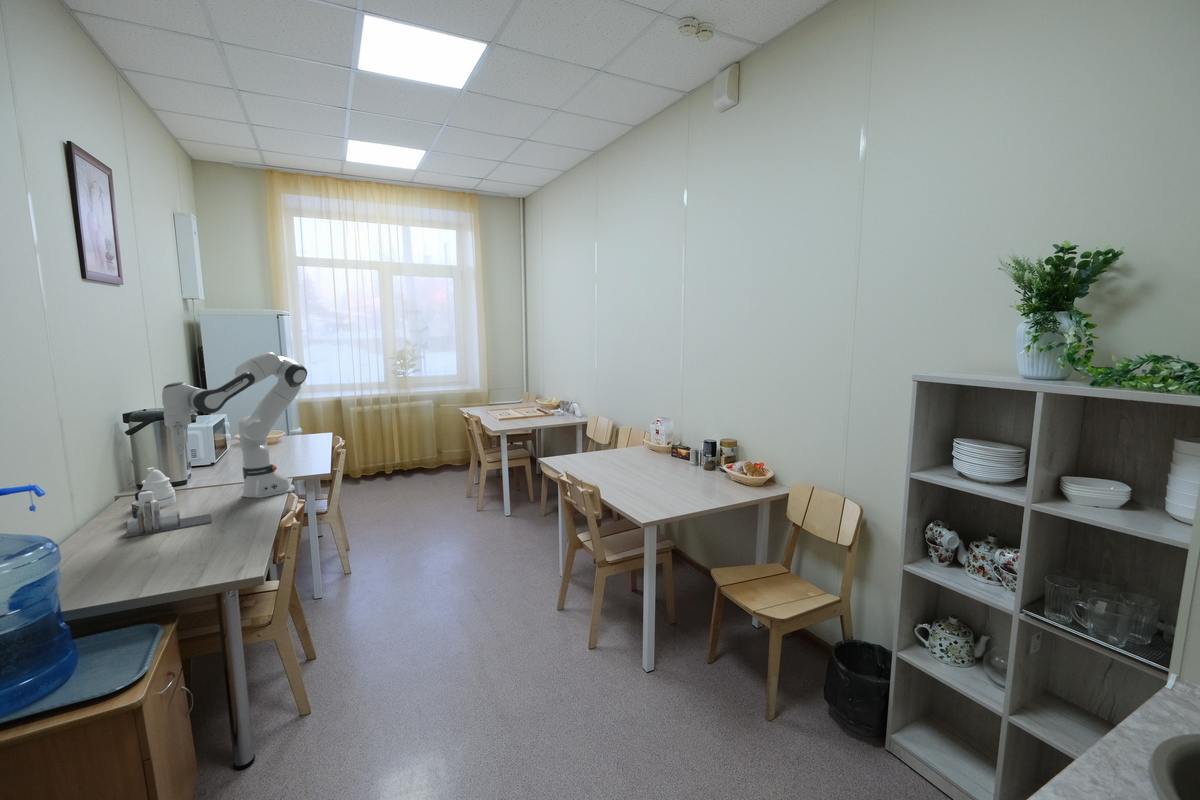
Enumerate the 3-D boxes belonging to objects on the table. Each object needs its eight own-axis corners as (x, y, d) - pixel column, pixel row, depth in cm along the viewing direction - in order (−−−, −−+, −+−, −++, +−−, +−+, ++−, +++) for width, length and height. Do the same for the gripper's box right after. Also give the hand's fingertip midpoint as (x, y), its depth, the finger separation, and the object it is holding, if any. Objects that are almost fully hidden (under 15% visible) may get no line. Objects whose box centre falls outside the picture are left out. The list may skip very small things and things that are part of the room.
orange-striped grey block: (180, 521, 218) (179, 511, 217) (179, 524, 214) (178, 514, 213) (129, 530, 208) (128, 519, 207) (128, 533, 204) (127, 522, 204)
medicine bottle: (132, 518, 222) (129, 492, 220) (153, 513, 228) (150, 487, 226) (140, 521, 218) (137, 494, 217) (160, 516, 225) (158, 490, 223)
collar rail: (210, 515, 227) (208, 490, 225) (211, 522, 218) (209, 497, 216) (128, 529, 210) (125, 502, 209) (125, 538, 201) (122, 510, 199)
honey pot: (159, 509, 234) (155, 470, 232) (132, 508, 234) (127, 470, 232) (183, 500, 247) (179, 463, 244) (157, 499, 247) (153, 463, 245)
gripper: (187, 423, 213) (190, 455, 215) (187, 416, 229) (190, 446, 231) (167, 424, 209) (170, 457, 211) (169, 418, 225) (172, 448, 227)
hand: (181, 452), depth 221 cm, fingers open, 8 cm apart
